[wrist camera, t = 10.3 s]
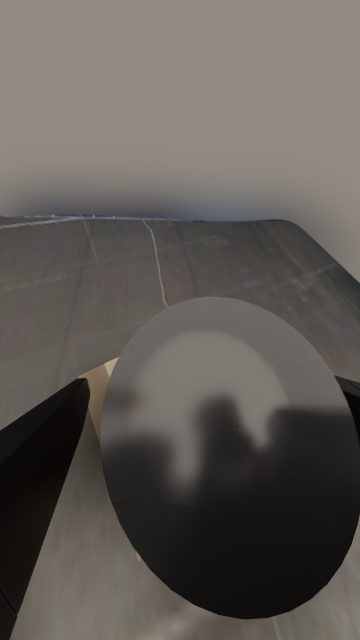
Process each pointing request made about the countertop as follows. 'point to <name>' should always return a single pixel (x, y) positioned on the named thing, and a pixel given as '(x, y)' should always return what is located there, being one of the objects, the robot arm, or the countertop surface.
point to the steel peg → (231, 457)
